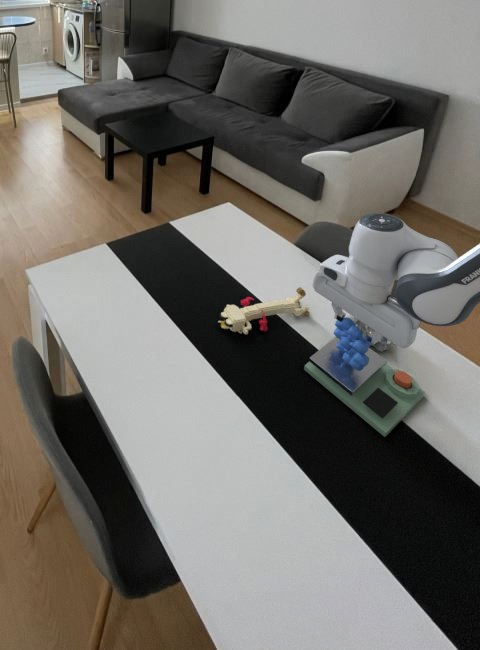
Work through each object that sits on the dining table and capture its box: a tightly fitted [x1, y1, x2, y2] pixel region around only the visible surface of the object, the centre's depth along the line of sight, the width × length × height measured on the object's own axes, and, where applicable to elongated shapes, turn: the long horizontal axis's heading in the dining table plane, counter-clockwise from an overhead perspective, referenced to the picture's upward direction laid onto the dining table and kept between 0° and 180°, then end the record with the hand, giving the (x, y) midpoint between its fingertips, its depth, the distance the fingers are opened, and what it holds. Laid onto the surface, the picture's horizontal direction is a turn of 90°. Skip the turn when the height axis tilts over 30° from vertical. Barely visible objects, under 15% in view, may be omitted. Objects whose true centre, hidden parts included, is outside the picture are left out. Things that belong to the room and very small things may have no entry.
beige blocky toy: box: [217, 287, 310, 335], centre depth 115 cm, size 10×9×25 cm
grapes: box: [332, 316, 371, 371], centre depth 96 cm, size 12×7×12 cm, turn 176°
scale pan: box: [308, 336, 398, 419], centre depth 97 cm, size 16×14×1 cm
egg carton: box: [353, 316, 392, 353], centre depth 109 cm, size 11×8×4 cm
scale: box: [303, 361, 426, 438], centre depth 98 cm, size 18×16×3 cm
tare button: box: [394, 370, 412, 389], centre depth 95 cm, size 3×3×2 cm
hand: (354, 329), depth 96 cm, fingers open, 6 cm apart
